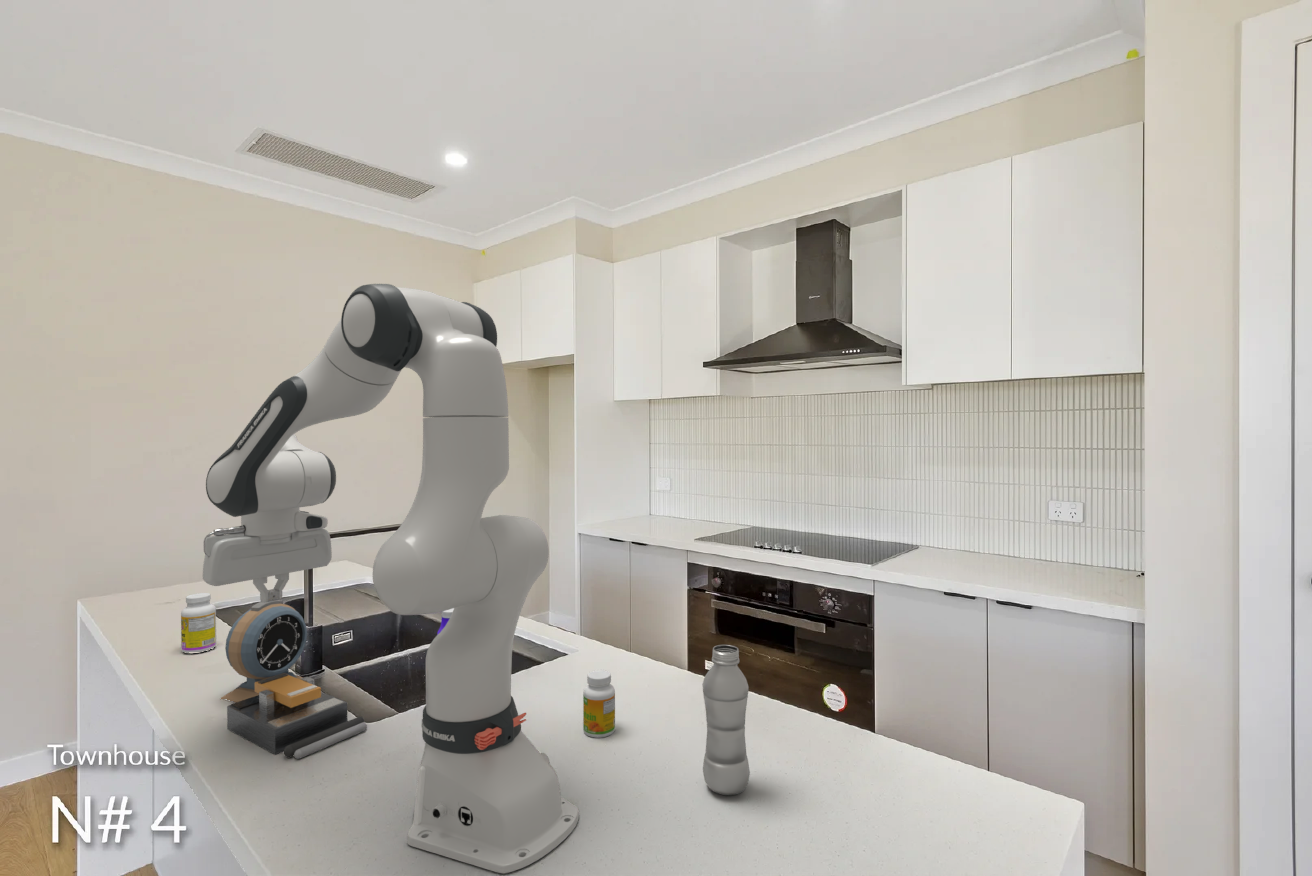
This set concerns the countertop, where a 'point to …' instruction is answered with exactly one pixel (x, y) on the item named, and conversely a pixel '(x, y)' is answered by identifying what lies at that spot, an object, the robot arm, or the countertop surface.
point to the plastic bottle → (725, 723)
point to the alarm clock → (264, 645)
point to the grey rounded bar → (325, 738)
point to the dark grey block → (283, 719)
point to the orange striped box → (289, 689)
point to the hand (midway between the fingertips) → (271, 600)
